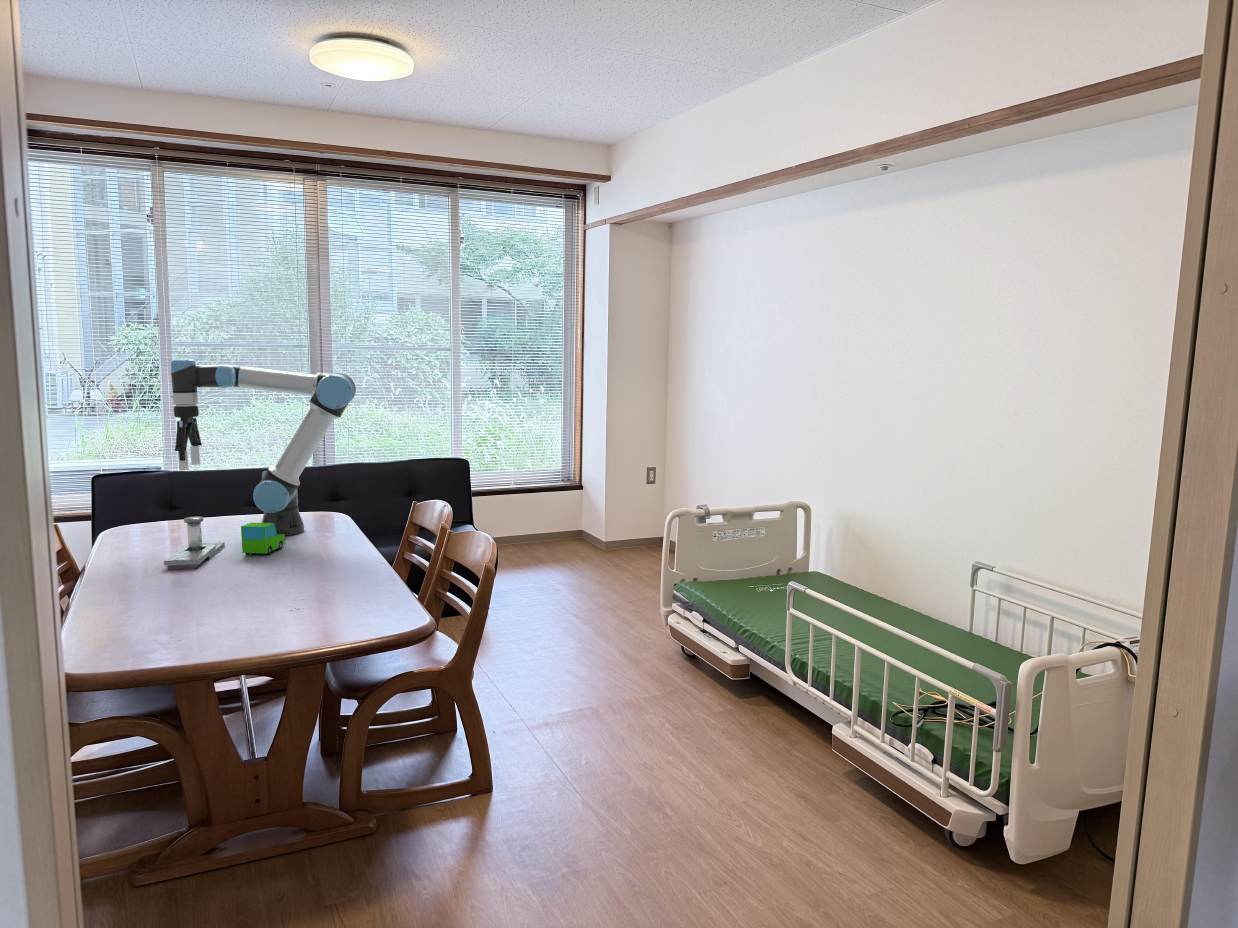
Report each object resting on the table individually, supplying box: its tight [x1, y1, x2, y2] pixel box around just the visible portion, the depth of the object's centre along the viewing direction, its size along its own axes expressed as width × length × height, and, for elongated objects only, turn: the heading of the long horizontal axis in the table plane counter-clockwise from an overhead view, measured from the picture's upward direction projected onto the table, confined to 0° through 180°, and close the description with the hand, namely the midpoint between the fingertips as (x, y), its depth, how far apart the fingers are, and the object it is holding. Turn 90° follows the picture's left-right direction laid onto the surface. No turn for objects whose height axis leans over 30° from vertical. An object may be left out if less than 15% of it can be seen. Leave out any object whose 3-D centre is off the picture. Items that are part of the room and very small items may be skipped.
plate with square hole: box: [163, 541, 226, 571], centre depth 277 cm, size 10×30×3 cm, turn 11°
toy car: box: [240, 522, 286, 556], centre depth 285 cm, size 10×13×10 cm
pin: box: [183, 516, 204, 551], centre depth 276 cm, size 6×6×13 cm
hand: (190, 467), depth 293 cm, fingers open, 13 cm apart
